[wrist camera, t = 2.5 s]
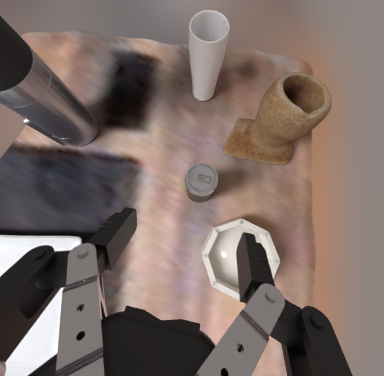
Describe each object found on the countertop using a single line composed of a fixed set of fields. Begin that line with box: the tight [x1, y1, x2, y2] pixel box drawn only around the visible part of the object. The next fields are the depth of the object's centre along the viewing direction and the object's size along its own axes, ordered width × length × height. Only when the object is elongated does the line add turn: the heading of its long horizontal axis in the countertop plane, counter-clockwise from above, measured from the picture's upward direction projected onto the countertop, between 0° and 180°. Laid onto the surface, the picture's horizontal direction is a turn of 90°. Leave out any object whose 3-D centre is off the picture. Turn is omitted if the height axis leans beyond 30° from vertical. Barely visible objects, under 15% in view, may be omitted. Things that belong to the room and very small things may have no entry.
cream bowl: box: [201, 218, 280, 301], centre depth 34 cm, size 13×13×4 cm
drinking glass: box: [189, 10, 230, 101], centre depth 35 cm, size 7×7×15 cm
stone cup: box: [223, 72, 331, 164], centre depth 33 cm, size 15×12×15 cm
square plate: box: [0, 235, 82, 376], centre depth 32 cm, size 27×27×4 cm
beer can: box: [185, 163, 218, 203], centre depth 32 cm, size 5×5×12 cm
